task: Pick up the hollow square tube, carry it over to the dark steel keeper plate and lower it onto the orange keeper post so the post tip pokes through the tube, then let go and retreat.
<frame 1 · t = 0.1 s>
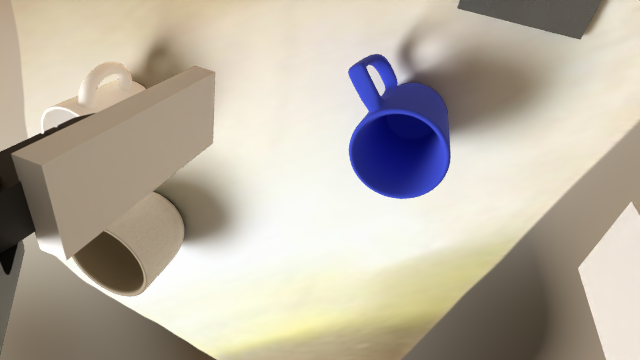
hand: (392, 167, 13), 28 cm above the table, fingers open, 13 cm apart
mug 2: (138, 95, 51), on the table
planter: (159, 213, 62), on the table
mug: (404, 95, 40), on the table
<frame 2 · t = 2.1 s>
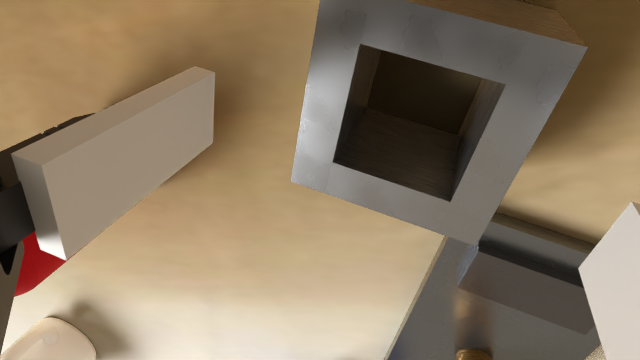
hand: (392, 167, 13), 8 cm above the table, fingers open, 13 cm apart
keeper: (492, 322, 26), on the table
mug 2: (70, 329, 48), on the table
beverage can: (130, 150, 29), on the table
hollow square tube: (426, 76, 19), on the table
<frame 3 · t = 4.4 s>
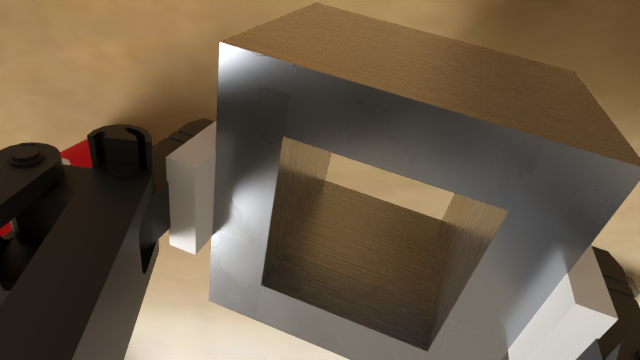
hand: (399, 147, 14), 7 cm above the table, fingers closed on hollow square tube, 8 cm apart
beverage can: (129, 168, 29), on the table
hollow square tube: (399, 147, 14), point 7 cm above the table, touching gripper
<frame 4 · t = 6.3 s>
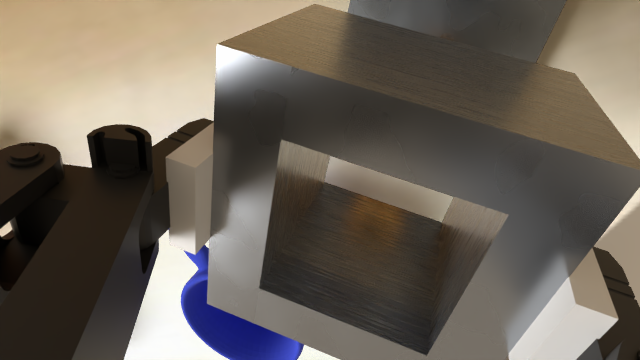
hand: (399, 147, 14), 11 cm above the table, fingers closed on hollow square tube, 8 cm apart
keeper: (448, 7, 21), on the table
mug: (285, 208, 32), on the table
hollow square tube: (399, 149, 14), point 11 cm above the table, touching gripper
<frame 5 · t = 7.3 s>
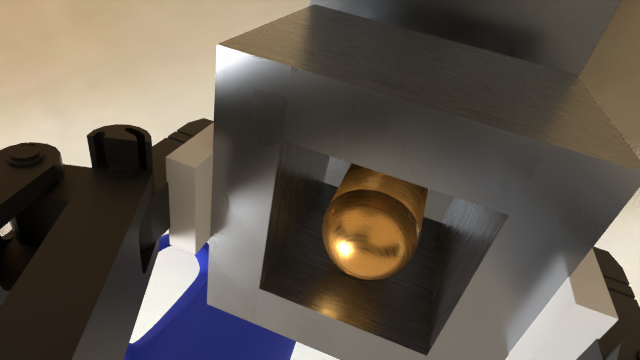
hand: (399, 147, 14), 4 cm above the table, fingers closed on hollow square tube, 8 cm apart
keeper: (438, 32, 16), on the table
mug: (246, 264, 27), on the table
hollow square tube: (399, 149, 14), point 4 cm above the table, touching gripper
when the fingers open (2 cm above the table, at t = 8.2 s): hollow square tube stays where it is, resting on keeper.
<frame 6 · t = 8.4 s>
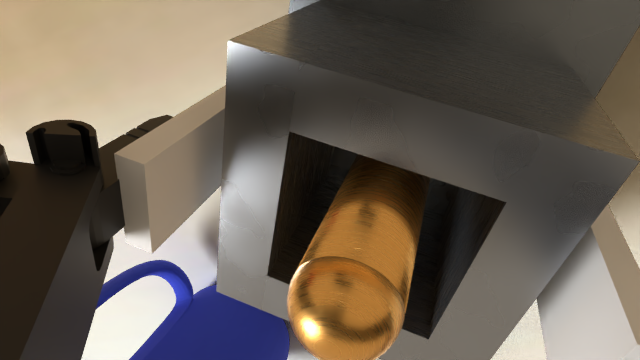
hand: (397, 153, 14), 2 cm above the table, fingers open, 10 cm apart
keeper: (432, 51, 14), on the table
mug: (229, 292, 25), on the table
hollow square tube: (401, 142, 15), point 1 cm above the table, touching keeper
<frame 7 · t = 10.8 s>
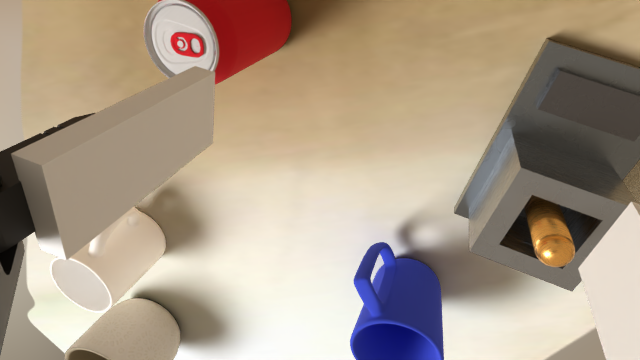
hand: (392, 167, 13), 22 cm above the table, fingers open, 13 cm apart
keeper: (554, 154, 33), on the table
mug 2: (144, 222, 53), on the table
beverage can: (262, 16, 35), on the table
planter: (156, 317, 63), on the table
mug: (401, 263, 43), on the table
hollow square tube: (535, 191, 34), point 1 cm above the table, touching keeper
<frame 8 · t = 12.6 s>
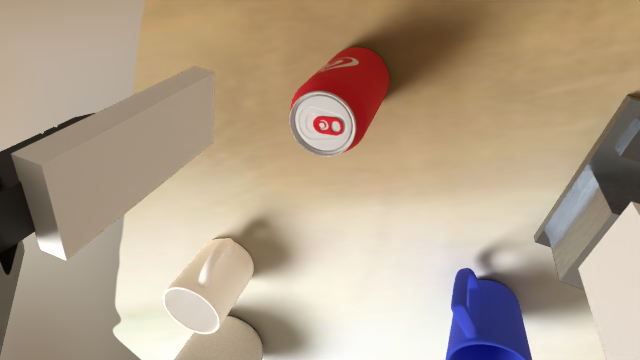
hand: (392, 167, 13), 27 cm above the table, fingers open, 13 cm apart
keeper: (631, 191, 37), on the table
mug 2: (233, 249, 59), on the table
beverage can: (359, 77, 40), on the table
planter: (238, 331, 69), on the table
mug: (480, 284, 48), on the table
hollow square tube: (614, 223, 38), point 1 cm above the table, touching keeper
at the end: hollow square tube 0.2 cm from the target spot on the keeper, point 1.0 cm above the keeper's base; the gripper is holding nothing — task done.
